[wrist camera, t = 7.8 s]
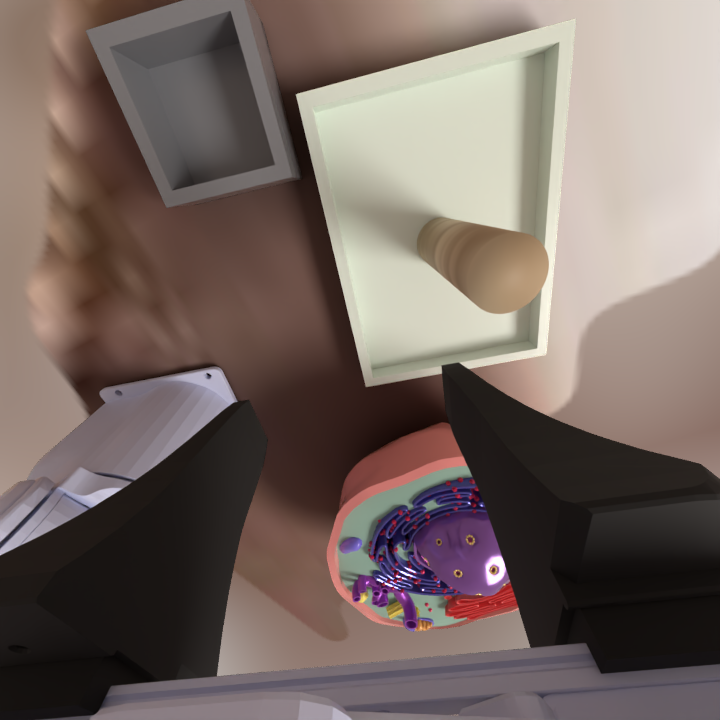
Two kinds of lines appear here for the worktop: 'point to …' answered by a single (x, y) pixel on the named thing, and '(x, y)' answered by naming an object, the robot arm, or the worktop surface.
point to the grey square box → (200, 98)
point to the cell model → (417, 538)
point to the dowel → (485, 262)
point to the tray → (441, 193)
